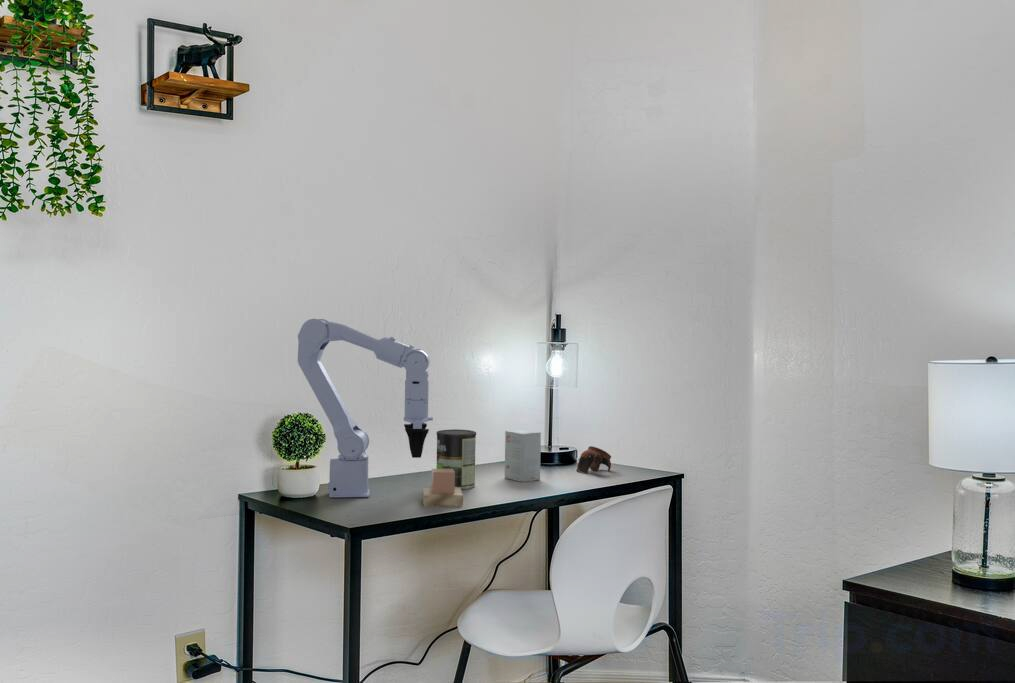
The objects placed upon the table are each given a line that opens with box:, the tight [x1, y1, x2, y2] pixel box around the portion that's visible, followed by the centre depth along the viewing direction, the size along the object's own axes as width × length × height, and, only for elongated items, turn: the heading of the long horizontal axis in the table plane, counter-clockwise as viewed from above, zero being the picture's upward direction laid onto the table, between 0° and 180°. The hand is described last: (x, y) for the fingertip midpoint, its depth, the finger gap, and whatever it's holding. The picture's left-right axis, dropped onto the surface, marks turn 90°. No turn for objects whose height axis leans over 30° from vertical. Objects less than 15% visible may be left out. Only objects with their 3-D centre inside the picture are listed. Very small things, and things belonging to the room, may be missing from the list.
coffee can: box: [436, 428, 477, 490], centre depth 225 cm, size 10×10×14 cm
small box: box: [504, 429, 542, 483], centre depth 236 cm, size 8×6×13 cm
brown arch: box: [576, 445, 612, 474], centre depth 250 cm, size 12×10×8 cm
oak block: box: [422, 487, 464, 507], centre depth 204 cm, size 9×9×3 cm
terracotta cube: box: [430, 468, 455, 494], centre depth 204 cm, size 5×5×5 cm
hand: (415, 455), depth 211 cm, fingers open, 7 cm apart
